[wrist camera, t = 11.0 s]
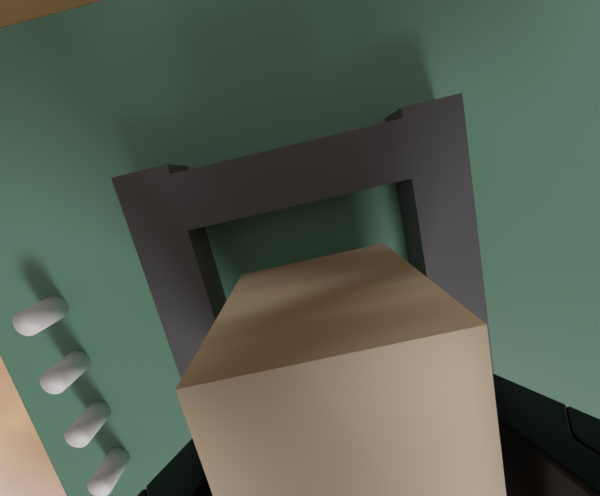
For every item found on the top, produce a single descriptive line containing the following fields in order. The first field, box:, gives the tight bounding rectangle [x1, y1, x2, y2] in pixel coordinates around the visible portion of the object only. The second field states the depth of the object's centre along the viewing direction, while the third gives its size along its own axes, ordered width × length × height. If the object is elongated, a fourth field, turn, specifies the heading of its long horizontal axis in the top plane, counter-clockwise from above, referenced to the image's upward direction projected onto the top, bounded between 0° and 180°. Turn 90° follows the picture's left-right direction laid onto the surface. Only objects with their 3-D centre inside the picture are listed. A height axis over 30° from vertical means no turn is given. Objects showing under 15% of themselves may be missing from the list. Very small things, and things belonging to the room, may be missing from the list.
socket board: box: [0, 0, 600, 496], centre depth 11 cm, size 22×22×2 cm
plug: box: [175, 243, 507, 496], centre depth 7 cm, size 4×7×5 cm, turn 13°
